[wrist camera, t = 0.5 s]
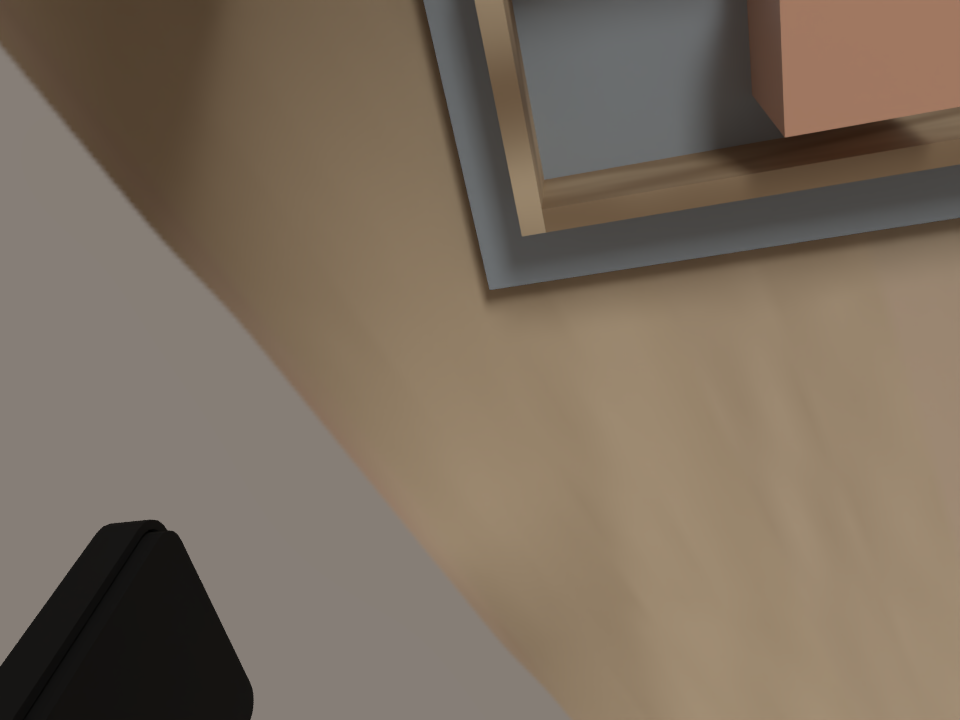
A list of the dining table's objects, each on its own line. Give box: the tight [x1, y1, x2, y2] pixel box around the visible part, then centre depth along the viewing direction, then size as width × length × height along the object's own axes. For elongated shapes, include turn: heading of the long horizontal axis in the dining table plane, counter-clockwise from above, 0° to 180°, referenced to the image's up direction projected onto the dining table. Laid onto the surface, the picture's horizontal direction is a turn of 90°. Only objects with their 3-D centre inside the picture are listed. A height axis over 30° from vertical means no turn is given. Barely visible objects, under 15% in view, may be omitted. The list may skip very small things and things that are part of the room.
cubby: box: [474, 0, 960, 236], centre depth 25 cm, size 10×17×3 cm, turn 102°
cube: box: [747, 0, 960, 137], centre depth 24 cm, size 5×5×5 cm
